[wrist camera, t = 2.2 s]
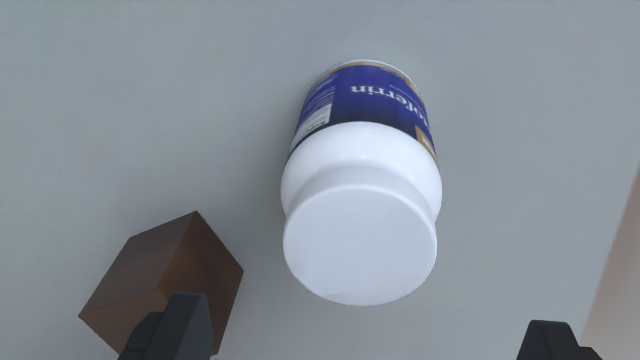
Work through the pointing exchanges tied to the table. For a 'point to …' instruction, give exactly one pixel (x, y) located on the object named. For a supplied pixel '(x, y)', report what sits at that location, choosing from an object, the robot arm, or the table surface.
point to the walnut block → (164, 279)
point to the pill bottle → (361, 187)
